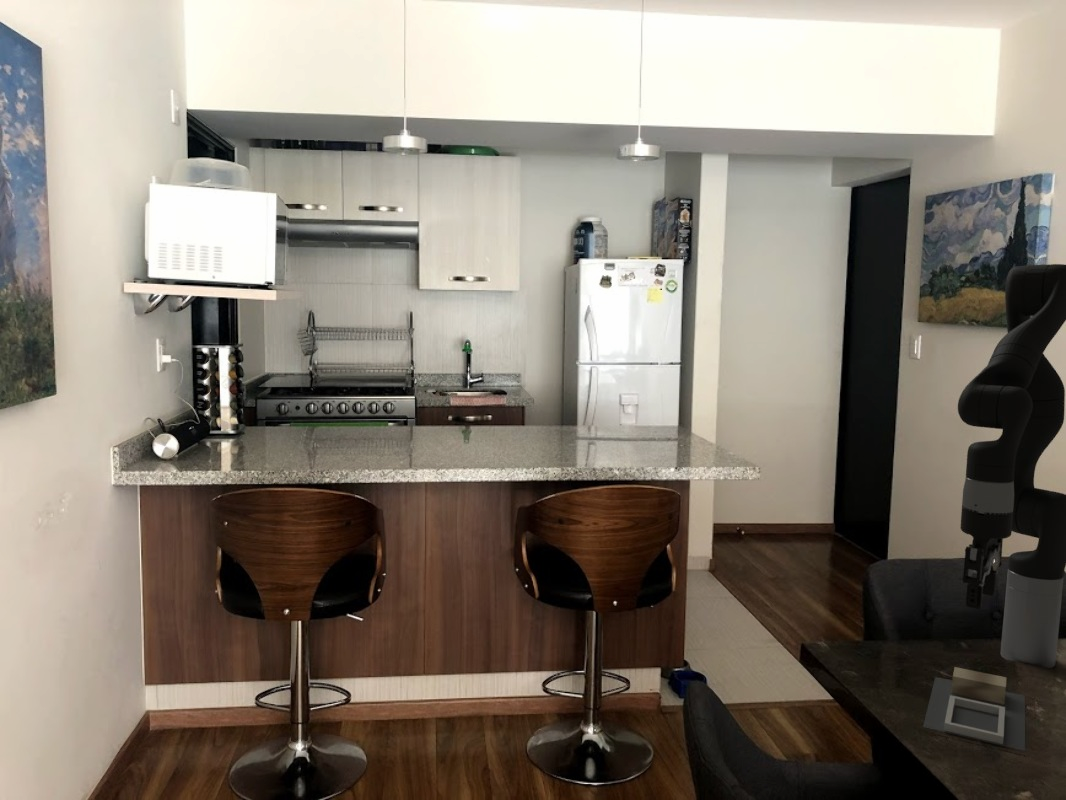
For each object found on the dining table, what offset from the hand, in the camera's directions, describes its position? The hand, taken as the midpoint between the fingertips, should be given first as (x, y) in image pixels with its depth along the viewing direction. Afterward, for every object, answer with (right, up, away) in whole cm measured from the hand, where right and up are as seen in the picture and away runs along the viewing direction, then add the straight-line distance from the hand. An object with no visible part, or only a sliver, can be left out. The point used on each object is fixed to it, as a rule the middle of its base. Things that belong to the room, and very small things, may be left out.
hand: (980, 600), depth 145 cm
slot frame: (-4, -19, -7) cm, 20 cm away
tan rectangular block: (+2, -17, +4) cm, 17 cm away
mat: (-2, -18, -2) cm, 19 cm away
